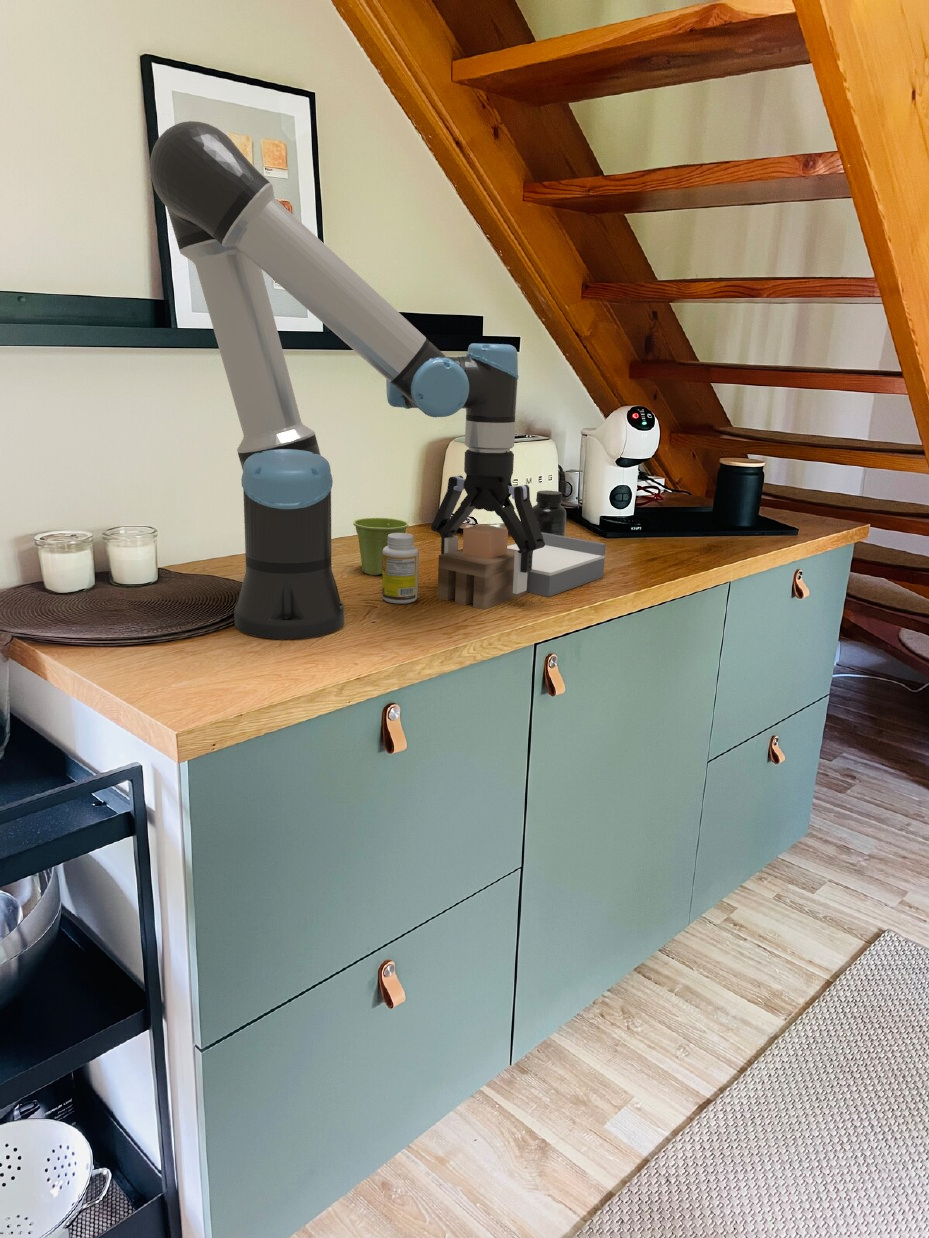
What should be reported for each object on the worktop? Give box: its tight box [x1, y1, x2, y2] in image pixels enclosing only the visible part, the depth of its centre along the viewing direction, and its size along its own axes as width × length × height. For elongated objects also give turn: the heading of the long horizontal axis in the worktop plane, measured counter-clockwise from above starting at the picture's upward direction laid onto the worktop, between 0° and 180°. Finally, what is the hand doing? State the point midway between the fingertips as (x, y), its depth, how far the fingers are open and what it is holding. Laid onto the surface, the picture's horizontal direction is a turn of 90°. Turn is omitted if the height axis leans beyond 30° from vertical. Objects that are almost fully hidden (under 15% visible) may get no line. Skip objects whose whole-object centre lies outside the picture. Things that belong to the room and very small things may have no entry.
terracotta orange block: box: [462, 523, 509, 559], centre depth 143 cm, size 5×5×4 cm
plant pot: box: [352, 517, 410, 576], centre depth 157 cm, size 9×9×9 cm
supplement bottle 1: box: [381, 532, 420, 605], centre depth 141 cm, size 6×6×10 cm
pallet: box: [437, 548, 528, 610], centre depth 145 cm, size 12×9×7 cm
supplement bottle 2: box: [532, 490, 567, 537], centre depth 175 cm, size 7×7×12 cm
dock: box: [507, 532, 607, 598], centre depth 157 cm, size 18×16×6 cm
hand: (484, 584), depth 146 cm, fingers open, 13 cm apart
